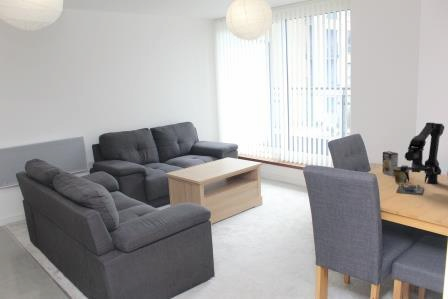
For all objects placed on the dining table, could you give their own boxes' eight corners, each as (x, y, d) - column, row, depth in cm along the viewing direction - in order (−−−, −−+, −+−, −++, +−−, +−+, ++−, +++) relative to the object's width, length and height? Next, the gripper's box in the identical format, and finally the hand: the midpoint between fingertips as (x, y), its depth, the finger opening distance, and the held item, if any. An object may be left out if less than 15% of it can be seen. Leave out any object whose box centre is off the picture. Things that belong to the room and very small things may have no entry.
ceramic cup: (410, 184, 257) (411, 170, 255) (394, 184, 259) (394, 170, 257) (405, 179, 270) (406, 165, 268) (390, 179, 272) (390, 165, 270)
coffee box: (382, 172, 291) (382, 151, 289) (389, 171, 293) (389, 150, 290) (390, 175, 283) (390, 153, 280) (397, 174, 285) (398, 152, 282)
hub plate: (399, 186, 254) (399, 182, 253) (423, 188, 246) (423, 184, 246) (396, 192, 242) (396, 187, 242) (421, 194, 235) (421, 190, 234)
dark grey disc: (418, 187, 242) (419, 180, 241) (409, 189, 240) (409, 181, 239) (407, 184, 250) (407, 177, 250) (398, 185, 249) (398, 178, 248)
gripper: (399, 160, 241) (398, 184, 243) (433, 161, 231) (432, 187, 233) (401, 156, 250) (401, 180, 253) (434, 158, 240) (433, 182, 243)
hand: (416, 182), depth 245 cm, fingers open, 9 cm apart
